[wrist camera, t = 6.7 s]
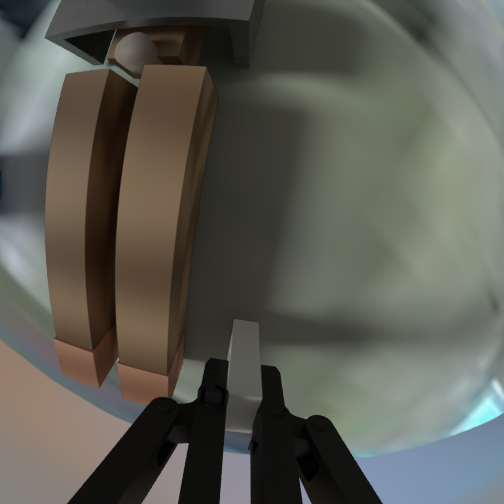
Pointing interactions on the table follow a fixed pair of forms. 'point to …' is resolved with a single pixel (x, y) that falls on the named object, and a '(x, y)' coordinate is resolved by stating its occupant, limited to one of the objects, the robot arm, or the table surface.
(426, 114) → the table surface
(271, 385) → the robot arm
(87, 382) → the base
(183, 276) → the hinged jaw
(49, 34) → the collar
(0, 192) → the cup
